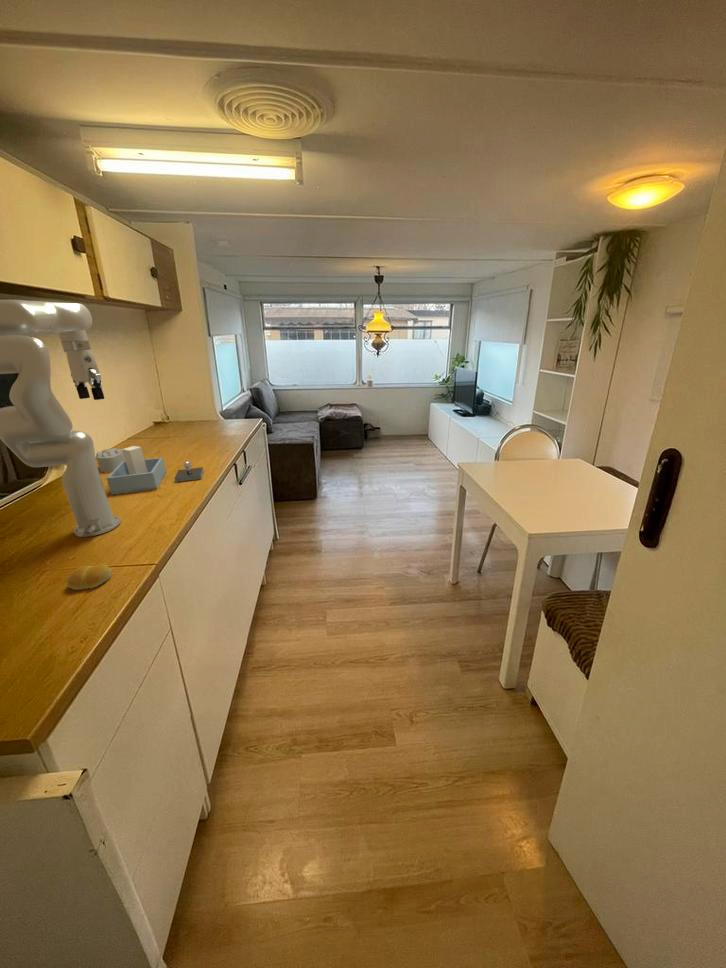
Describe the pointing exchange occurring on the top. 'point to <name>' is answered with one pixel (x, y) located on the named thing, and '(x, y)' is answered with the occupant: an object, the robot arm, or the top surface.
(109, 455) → the lumpy-topped squat cylinder
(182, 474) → the stud base
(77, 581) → the bread roll
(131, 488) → the bin
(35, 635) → the top surface
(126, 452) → the strut
